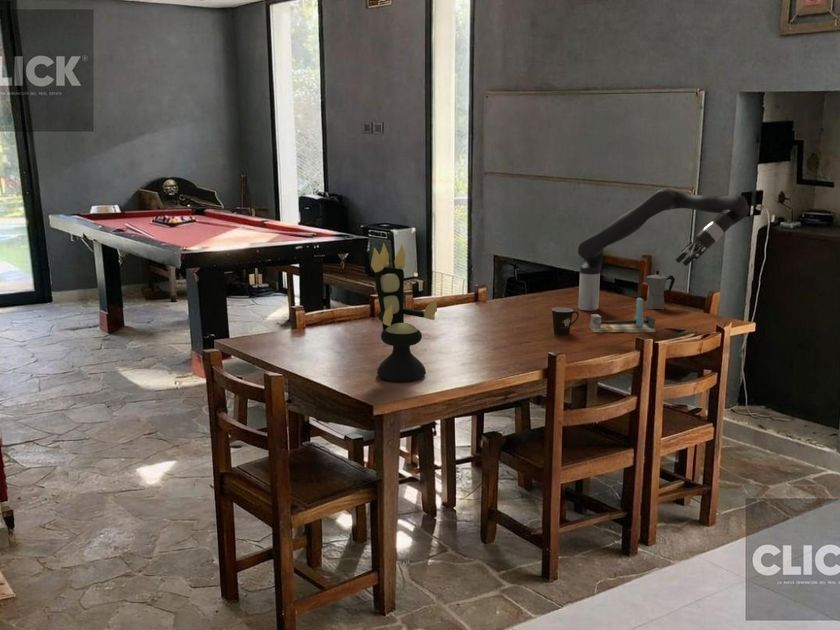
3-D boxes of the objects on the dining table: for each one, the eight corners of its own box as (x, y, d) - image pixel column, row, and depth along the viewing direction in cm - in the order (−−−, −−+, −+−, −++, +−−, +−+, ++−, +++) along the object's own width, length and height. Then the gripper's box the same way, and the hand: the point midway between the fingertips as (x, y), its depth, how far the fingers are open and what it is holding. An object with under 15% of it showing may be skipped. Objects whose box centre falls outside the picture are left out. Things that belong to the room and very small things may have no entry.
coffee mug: (552, 335, 348) (553, 311, 346) (550, 330, 356) (550, 307, 354) (580, 335, 348) (581, 312, 346) (577, 331, 356) (578, 307, 354)
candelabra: (391, 387, 278) (390, 251, 268) (357, 371, 296) (355, 243, 286) (437, 378, 288) (439, 247, 279) (402, 363, 306) (402, 239, 297)
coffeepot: (645, 310, 397) (648, 272, 393) (638, 306, 406) (640, 269, 402) (677, 309, 399) (679, 271, 395) (668, 305, 408) (671, 268, 404)
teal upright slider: (640, 324, 360) (641, 297, 357) (643, 326, 356) (645, 299, 353) (633, 324, 360) (635, 297, 357) (636, 326, 356) (638, 299, 353)
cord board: (648, 327, 363) (649, 312, 361) (655, 332, 355) (656, 316, 353) (589, 328, 361) (589, 313, 359) (594, 332, 353) (595, 317, 351)
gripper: (697, 226, 357) (668, 254, 359) (710, 230, 343) (680, 259, 345) (708, 239, 359) (679, 266, 361) (722, 243, 345) (692, 271, 347)
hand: (680, 262), depth 353 cm, fingers open, 7 cm apart
